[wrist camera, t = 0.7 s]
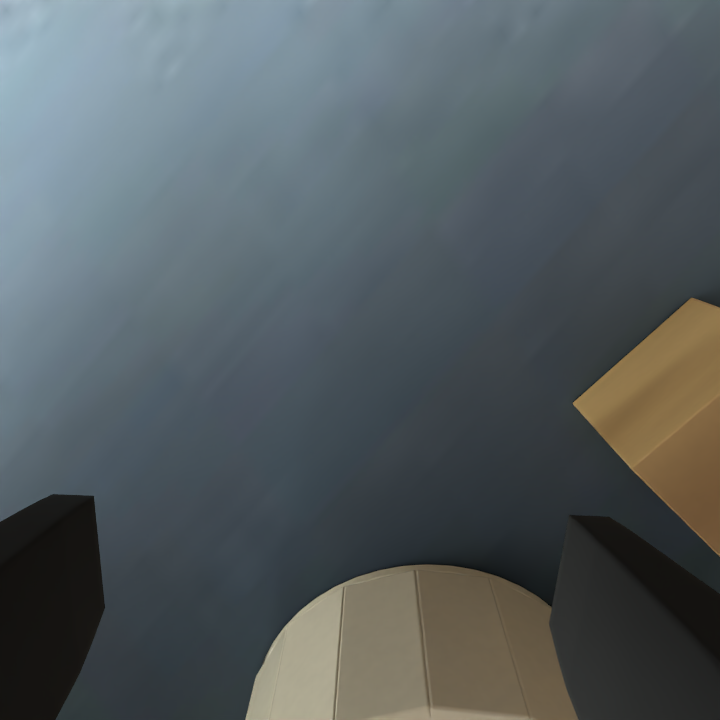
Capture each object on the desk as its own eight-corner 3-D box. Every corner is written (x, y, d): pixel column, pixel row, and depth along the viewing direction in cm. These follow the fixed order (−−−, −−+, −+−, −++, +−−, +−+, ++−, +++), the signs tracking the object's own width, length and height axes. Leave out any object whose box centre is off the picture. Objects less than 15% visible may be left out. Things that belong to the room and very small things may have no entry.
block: (786, 400, 18) (910, 465, 14) (666, 497, 19) (749, 586, 15) (691, 296, 18) (792, 332, 13) (571, 403, 18) (630, 468, 14)
